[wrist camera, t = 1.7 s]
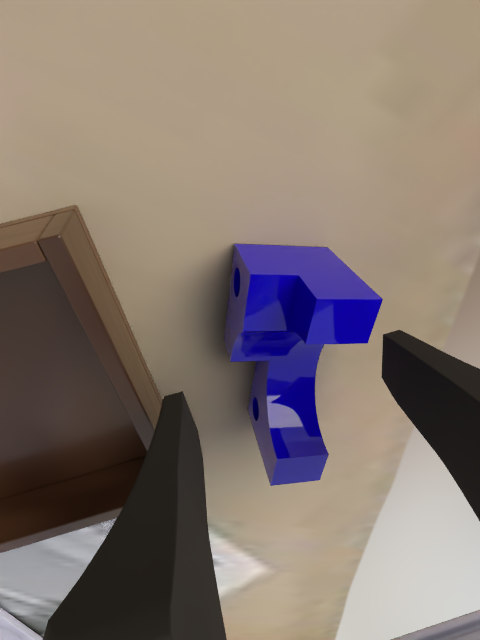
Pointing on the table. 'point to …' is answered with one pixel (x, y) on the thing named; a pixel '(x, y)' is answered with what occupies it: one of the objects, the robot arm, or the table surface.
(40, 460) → the box
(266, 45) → the table surface
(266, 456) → the cable holder
